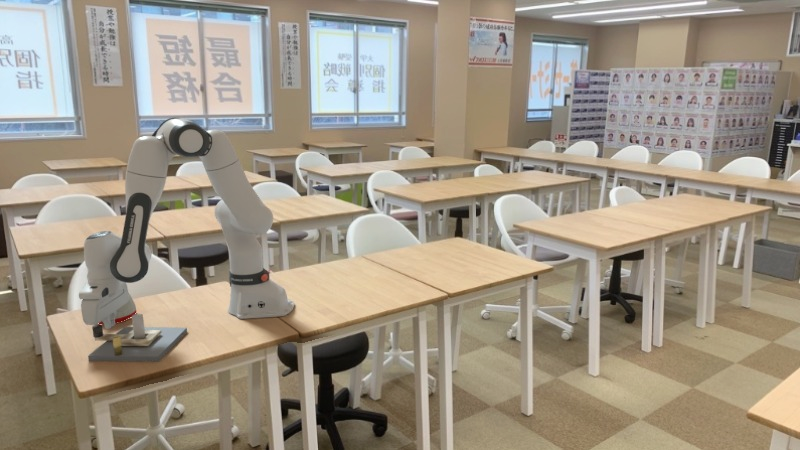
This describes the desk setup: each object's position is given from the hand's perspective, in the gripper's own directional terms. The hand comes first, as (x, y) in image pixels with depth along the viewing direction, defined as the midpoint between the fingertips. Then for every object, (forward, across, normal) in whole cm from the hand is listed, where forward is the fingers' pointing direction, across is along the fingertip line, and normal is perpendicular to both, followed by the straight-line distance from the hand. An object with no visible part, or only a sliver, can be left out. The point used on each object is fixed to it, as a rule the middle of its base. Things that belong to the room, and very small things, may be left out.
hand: (110, 326), depth 171 cm
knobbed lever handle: (+1, +6, +8) cm, 10 cm away
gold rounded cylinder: (+2, +15, +10) cm, 18 cm away
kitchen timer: (+4, -16, -8) cm, 18 cm away
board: (+3, +6, +12) cm, 14 cm away
